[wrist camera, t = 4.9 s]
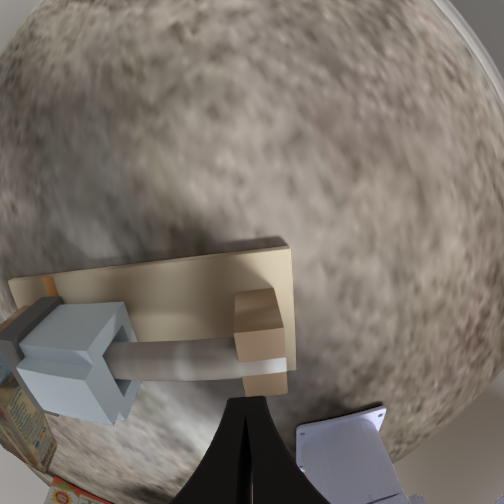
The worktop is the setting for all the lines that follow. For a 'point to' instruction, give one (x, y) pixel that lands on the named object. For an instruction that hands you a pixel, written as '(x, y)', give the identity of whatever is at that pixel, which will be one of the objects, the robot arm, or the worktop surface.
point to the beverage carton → (23, 424)
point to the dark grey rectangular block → (18, 331)
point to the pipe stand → (190, 316)
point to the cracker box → (70, 494)
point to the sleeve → (79, 362)
